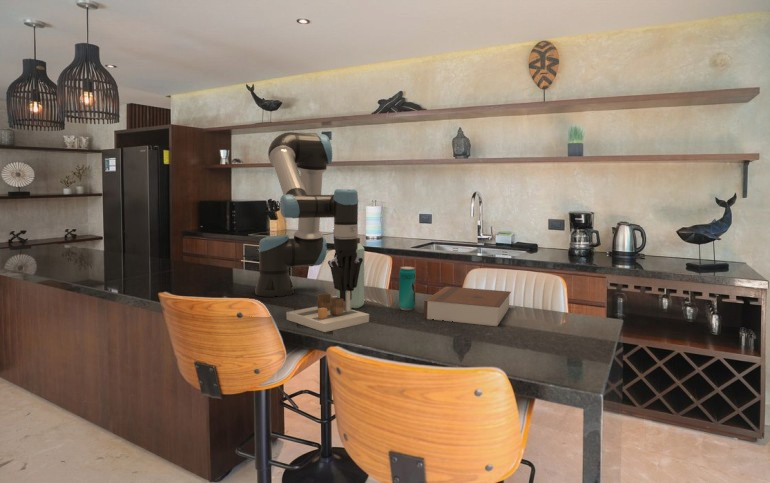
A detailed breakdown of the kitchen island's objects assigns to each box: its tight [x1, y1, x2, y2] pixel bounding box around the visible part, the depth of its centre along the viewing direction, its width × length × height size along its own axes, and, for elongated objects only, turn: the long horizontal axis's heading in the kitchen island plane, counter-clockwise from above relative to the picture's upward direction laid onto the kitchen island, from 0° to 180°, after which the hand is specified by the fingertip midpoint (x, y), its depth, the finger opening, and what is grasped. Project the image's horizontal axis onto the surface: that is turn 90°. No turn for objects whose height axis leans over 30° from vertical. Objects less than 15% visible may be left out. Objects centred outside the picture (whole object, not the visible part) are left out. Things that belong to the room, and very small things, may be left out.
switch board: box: [286, 305, 370, 333], centre depth 165 cm, size 20×18×6 cm
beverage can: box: [398, 266, 417, 312], centre depth 182 cm, size 6×6×15 cm
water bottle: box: [336, 236, 365, 310], centre depth 185 cm, size 10×10×25 cm
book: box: [423, 286, 512, 327], centre depth 178 cm, size 24×28×7 cm
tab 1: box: [317, 292, 331, 310], centre depth 169 cm, size 3×3×5 cm
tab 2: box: [330, 296, 344, 316], centre depth 163 cm, size 3×3×5 cm
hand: (345, 310), depth 165 cm, fingers closed
